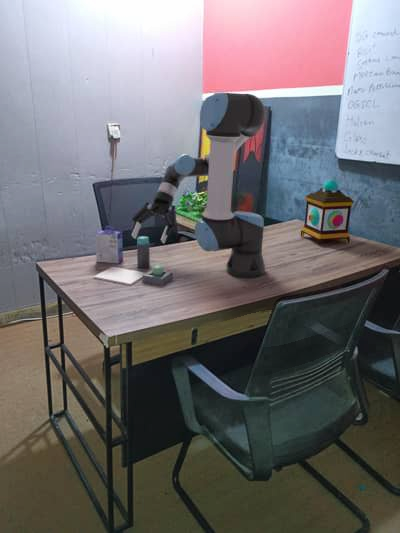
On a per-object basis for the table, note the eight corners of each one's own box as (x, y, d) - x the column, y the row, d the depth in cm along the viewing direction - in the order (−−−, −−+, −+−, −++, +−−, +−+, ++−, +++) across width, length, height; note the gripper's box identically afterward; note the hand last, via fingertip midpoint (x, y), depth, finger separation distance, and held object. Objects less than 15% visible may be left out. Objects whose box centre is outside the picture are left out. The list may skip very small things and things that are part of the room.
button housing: (172, 278, 161) (172, 271, 161) (162, 285, 154) (162, 278, 154) (153, 274, 164) (153, 268, 164) (142, 281, 158) (142, 275, 157)
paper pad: (147, 274, 164) (147, 273, 164) (130, 285, 154) (130, 283, 154) (112, 268, 170) (112, 266, 170) (93, 277, 160) (93, 276, 160)
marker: (151, 265, 174) (151, 237, 170) (145, 269, 170) (145, 240, 166) (141, 264, 176) (140, 235, 172) (135, 267, 171) (134, 238, 167)
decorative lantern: (296, 236, 221) (302, 176, 211) (330, 233, 227) (337, 175, 217) (317, 247, 203) (325, 183, 193) (353, 244, 209) (362, 182, 199)
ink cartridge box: (124, 259, 180) (122, 226, 175) (119, 264, 175) (117, 229, 170) (101, 257, 182) (99, 224, 177) (96, 262, 177) (94, 227, 172)
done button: (165, 274, 160) (165, 266, 159) (159, 277, 156) (159, 269, 155) (155, 272, 161) (155, 264, 160) (150, 275, 158) (150, 267, 157)
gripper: (194, 204, 181) (178, 248, 173) (143, 198, 190) (125, 239, 183) (189, 193, 174) (171, 238, 167) (136, 188, 184) (117, 230, 176)
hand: (147, 239), depth 175 cm, fingers open, 13 cm apart
